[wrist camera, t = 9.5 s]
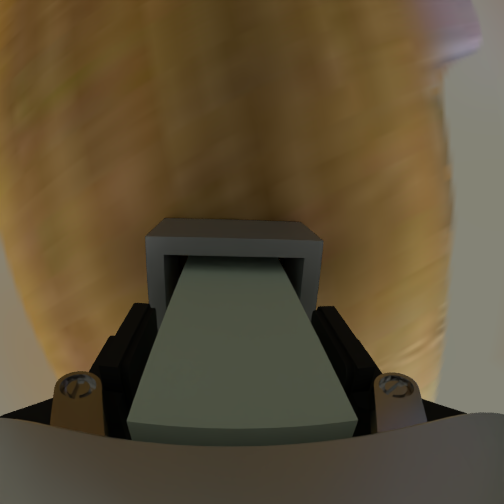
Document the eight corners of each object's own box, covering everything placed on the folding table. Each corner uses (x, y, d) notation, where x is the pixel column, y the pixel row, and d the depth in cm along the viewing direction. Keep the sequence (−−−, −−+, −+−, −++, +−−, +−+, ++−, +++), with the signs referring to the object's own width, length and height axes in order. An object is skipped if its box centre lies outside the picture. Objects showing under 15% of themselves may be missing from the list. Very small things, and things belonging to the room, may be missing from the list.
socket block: (164, 218, 16) (145, 236, 12) (301, 222, 16) (323, 241, 12) (169, 338, 17) (157, 381, 14) (289, 340, 18) (304, 382, 14)
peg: (193, 245, 16) (126, 421, 5) (272, 247, 16) (358, 420, 5) (193, 316, 17) (159, 519, 6) (267, 318, 18) (317, 517, 6)
